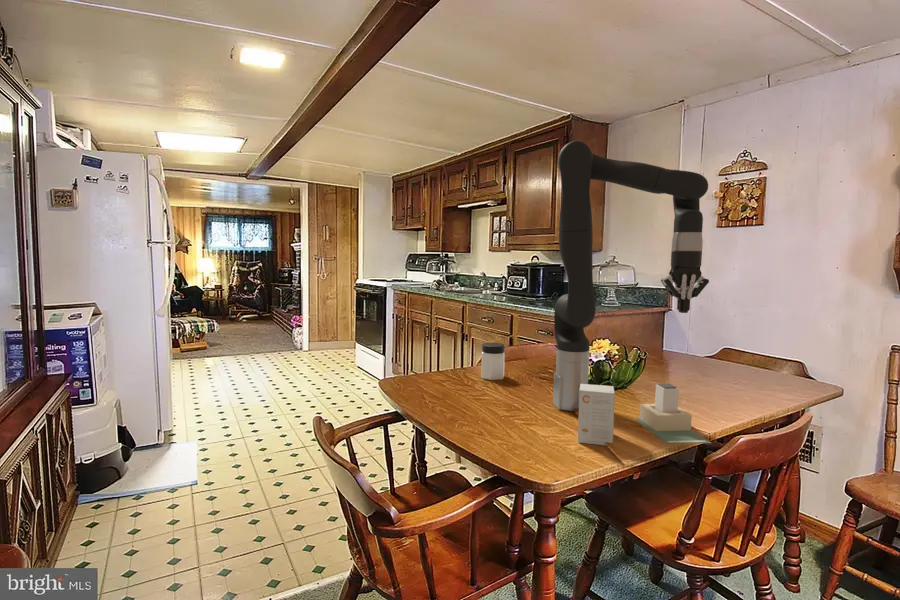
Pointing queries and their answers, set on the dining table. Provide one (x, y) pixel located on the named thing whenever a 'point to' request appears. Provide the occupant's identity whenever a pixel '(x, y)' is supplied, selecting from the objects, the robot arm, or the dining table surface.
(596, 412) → the small box
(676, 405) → the plug
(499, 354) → the jar
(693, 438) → the board
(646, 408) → the beige square socket
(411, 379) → the dining table surface
